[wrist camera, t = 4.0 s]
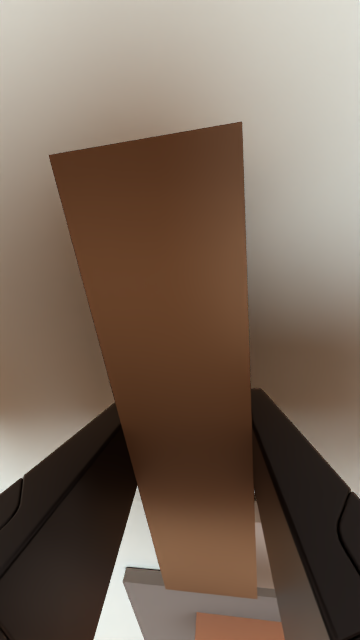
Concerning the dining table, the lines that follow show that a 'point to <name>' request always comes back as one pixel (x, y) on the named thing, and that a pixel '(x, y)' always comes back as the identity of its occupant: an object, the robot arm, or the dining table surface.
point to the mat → (187, 606)
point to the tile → (236, 628)
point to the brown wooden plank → (176, 340)
